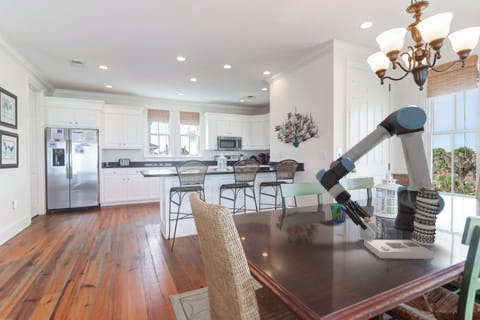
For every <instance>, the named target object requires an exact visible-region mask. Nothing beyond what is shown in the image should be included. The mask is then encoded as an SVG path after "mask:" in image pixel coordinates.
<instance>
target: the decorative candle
mask: <svg viewBox="0 0 480 320" xmlns="http://www.w3.org/2000/svg"><path fill="white" fill-rule="evenodd" d="M436 189H437V188H436ZM436 189H435V188H430V187H420V188H419V189H418V193H417V198H416V199H417V200H416V201H415V202H414V203H415V205H414V207H415V208H416V209H414V212H415V213H414V215H415V221H414V224H413V227H414V228H412V229H413V230H414V231H411V241H413V242H415V243H417V244H419V245H421V246H429V247H430V246H431V247H432V246H434V245H435V242H436V238H437V237H436V234H437V233H436V231H437V228H436V226H437V225H436V223H437V222H436V221H437V220H438V217H437V216H439V214H438V213H437V211H439V210H438V209H437V207H440V205H438V204H439V203H440V202H439V199H438V196H439V195H440V192H439V191H438V189H437V190H436ZM437 203H438V204H437Z"/></svg>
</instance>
